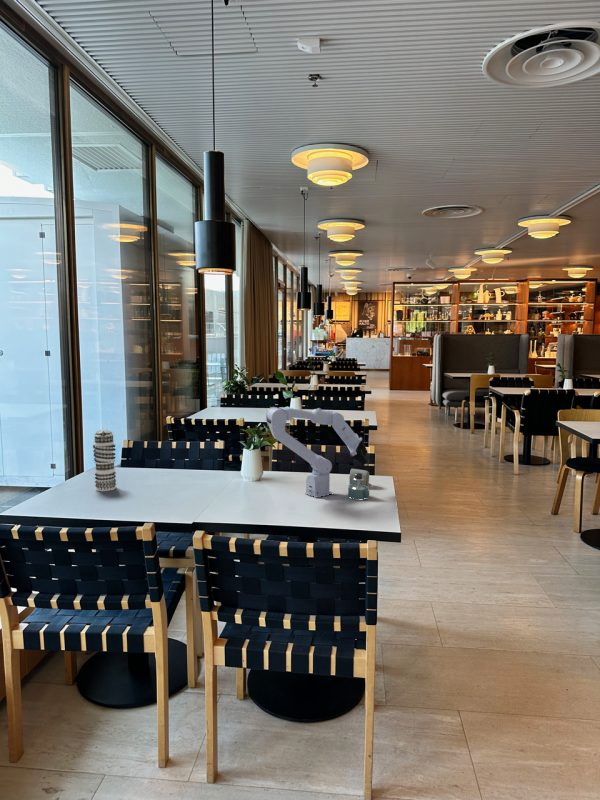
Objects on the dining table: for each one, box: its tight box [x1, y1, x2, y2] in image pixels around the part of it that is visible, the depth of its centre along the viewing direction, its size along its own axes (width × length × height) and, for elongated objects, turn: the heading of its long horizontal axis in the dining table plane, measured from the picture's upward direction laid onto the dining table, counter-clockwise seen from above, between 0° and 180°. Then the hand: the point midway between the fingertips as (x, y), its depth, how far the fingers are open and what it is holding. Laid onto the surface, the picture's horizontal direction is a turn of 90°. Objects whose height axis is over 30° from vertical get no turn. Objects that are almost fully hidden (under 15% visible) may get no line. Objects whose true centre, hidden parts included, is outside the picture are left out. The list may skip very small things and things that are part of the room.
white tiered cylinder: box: [92, 429, 117, 492], centre depth 238 cm, size 9×9×25 cm
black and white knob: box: [351, 473, 365, 489], centre depth 226 cm, size 6×6×6 cm
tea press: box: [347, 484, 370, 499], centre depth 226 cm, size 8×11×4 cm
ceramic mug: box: [348, 468, 370, 487], centre depth 245 cm, size 11×8×8 cm
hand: (365, 458), depth 236 cm, fingers open, 7 cm apart
